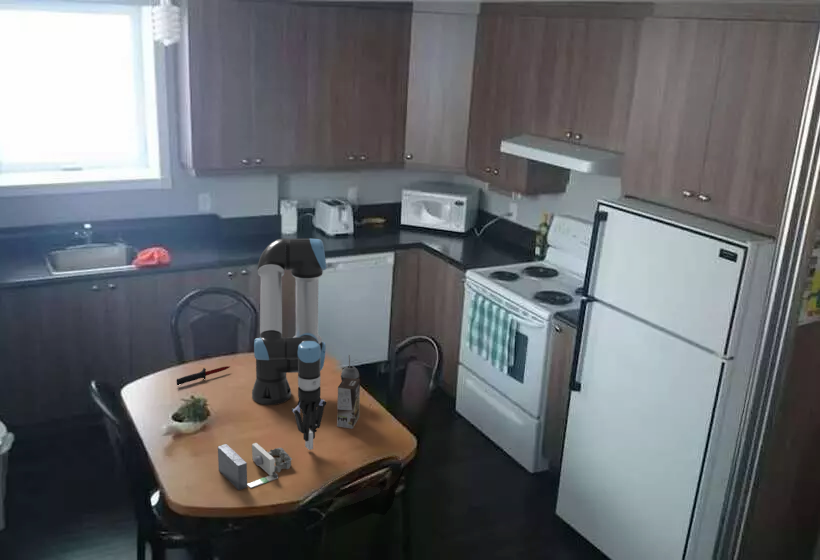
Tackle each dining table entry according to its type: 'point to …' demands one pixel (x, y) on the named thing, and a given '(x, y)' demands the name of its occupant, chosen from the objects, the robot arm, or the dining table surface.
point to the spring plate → (263, 459)
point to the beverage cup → (350, 372)
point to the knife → (199, 375)
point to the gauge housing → (237, 469)
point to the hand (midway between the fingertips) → (309, 447)
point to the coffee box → (348, 402)
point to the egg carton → (280, 459)
